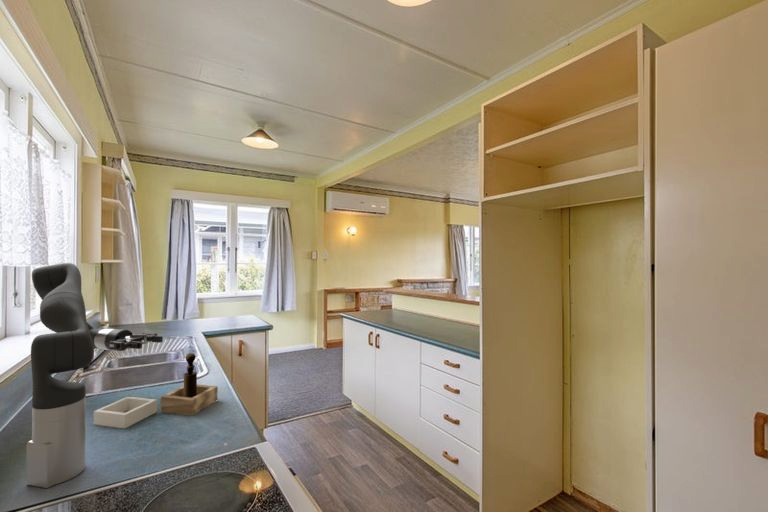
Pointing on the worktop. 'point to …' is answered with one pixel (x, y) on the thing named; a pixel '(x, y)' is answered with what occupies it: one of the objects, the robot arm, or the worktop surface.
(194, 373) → the dark pepper mill
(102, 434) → the worktop surface
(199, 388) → the socket
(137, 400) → the tray
